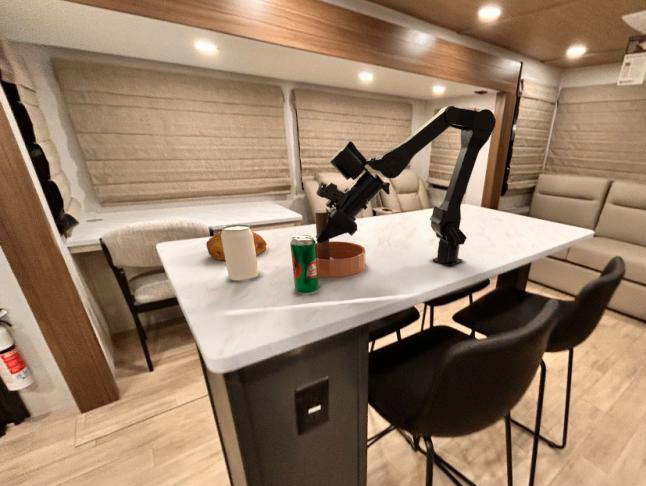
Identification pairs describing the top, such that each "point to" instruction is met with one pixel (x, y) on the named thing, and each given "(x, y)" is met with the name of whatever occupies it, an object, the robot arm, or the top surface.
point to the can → (239, 252)
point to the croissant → (217, 247)
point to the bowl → (342, 260)
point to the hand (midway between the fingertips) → (317, 240)
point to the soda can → (304, 263)
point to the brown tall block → (321, 222)
